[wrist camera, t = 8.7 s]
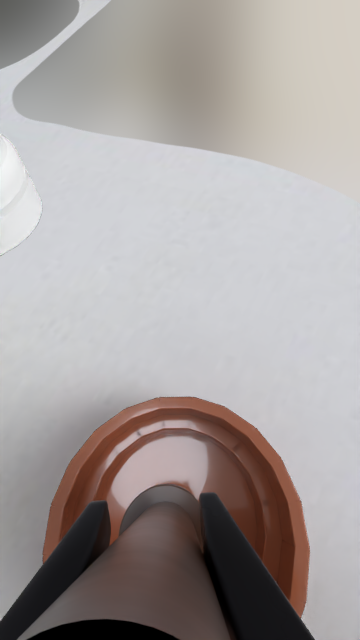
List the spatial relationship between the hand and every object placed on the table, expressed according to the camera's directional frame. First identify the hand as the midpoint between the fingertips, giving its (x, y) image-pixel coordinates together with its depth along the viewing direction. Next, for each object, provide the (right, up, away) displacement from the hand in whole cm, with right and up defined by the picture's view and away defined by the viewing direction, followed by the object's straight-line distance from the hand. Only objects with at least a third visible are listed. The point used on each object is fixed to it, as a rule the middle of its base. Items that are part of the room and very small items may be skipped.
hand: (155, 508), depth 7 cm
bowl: (0, -7, +10) cm, 13 cm away
